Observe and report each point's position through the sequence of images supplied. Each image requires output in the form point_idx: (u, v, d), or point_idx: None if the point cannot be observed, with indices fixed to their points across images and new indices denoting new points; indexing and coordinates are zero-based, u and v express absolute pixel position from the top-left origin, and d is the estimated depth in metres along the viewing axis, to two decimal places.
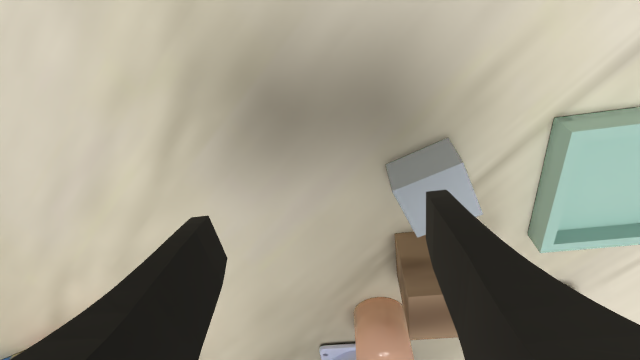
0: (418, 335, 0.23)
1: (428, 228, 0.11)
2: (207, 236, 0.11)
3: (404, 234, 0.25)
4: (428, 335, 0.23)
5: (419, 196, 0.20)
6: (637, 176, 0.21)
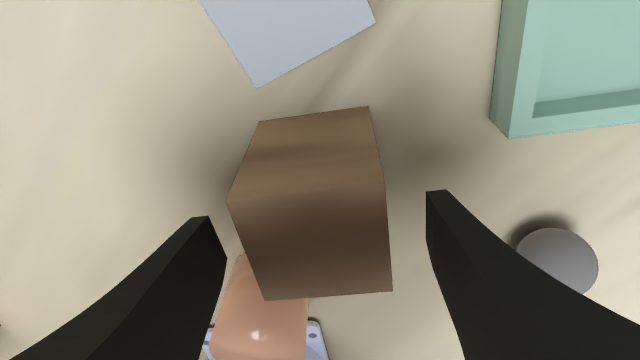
0: (277, 291, 0.12)
1: (428, 228, 0.11)
2: (207, 236, 0.11)
3: (274, 121, 0.14)
4: (296, 291, 0.12)
5: None
6: None
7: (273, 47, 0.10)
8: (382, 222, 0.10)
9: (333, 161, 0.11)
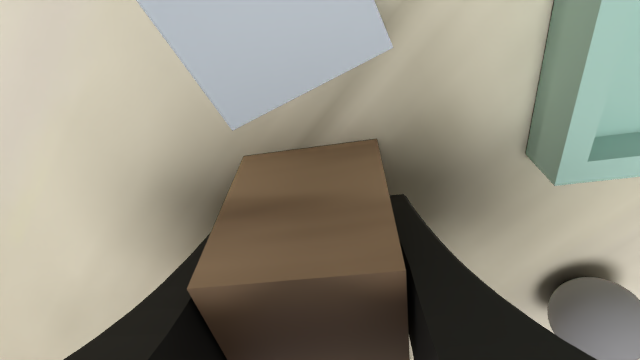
0: None
1: None
2: None
3: (261, 157, 0.12)
4: None
5: None
6: None
7: (253, 78, 0.07)
8: (399, 315, 0.07)
9: (333, 227, 0.08)
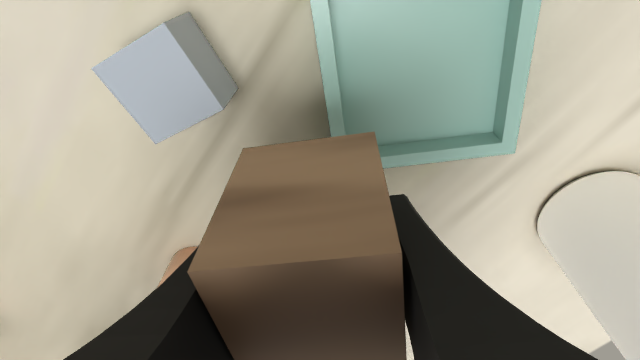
0: None
1: None
2: None
3: (260, 149, 0.12)
4: None
5: (130, 78, 0.15)
6: (436, 65, 0.16)
7: (162, 120, 0.16)
8: (396, 298, 0.08)
9: (331, 214, 0.08)
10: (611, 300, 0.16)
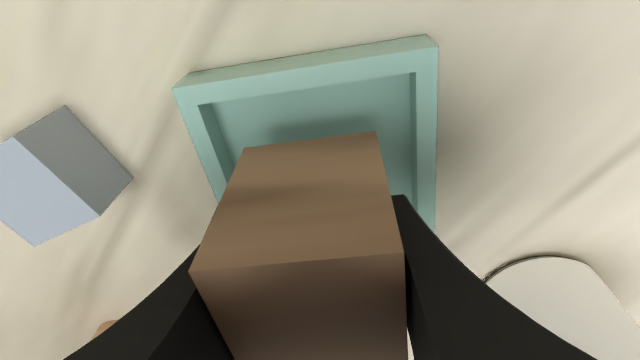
0: None
1: None
2: None
3: (261, 148, 0.12)
4: None
5: None
6: None
7: (36, 225, 0.14)
8: (398, 298, 0.08)
9: (333, 213, 0.08)
10: None
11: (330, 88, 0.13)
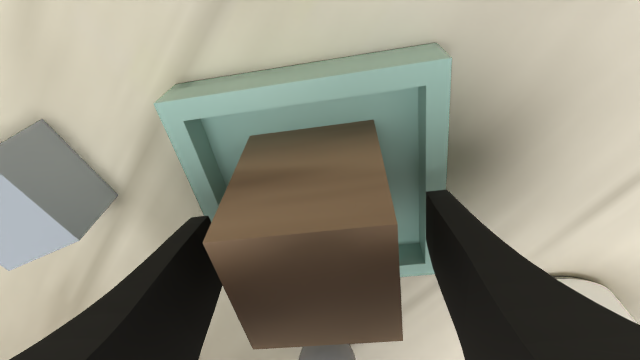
0: (267, 338, 0.10)
1: (428, 228, 0.11)
2: None
3: (266, 136, 0.12)
4: (289, 339, 0.10)
5: None
6: None
7: (10, 249, 0.13)
8: (392, 268, 0.08)
9: (333, 192, 0.09)
10: None
11: (330, 102, 0.12)
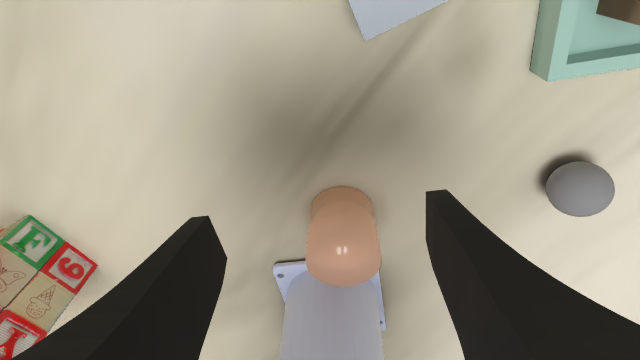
0: None
1: (428, 228, 0.11)
2: (207, 236, 0.11)
3: None
4: None
5: None
6: None
7: (383, 10, 0.14)
8: None
9: None
10: None
11: None
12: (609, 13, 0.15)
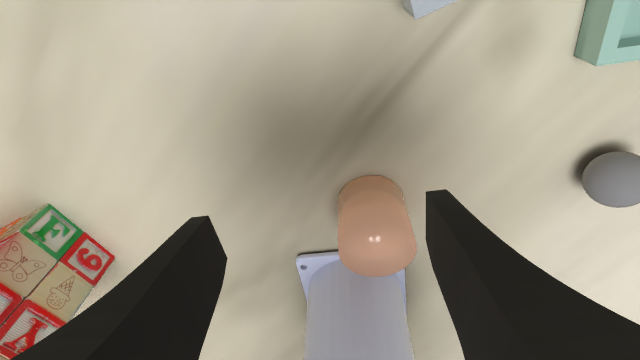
0: None
1: (428, 228, 0.11)
2: (207, 236, 0.11)
3: None
4: None
5: None
6: None
7: None
8: None
9: None
10: None
11: None
12: None
